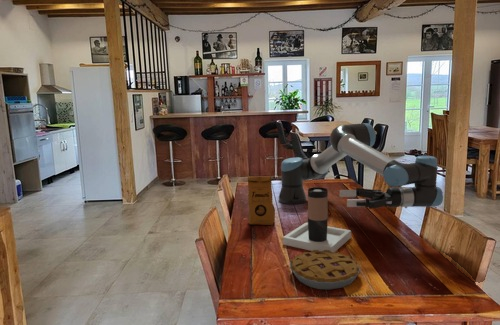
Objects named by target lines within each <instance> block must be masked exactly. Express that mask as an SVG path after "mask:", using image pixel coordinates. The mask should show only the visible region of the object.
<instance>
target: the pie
mask: <svg viewBox="0 0 500 325" xmlns="http://www.w3.org/2000/svg"><path fill="white" fill-rule="evenodd" d="M289 268H290V271H292V273H293V274H294V276H295V277H296V279H297V280H298V281H299V282H300V283H301V284H303V285H306V286H308V287H310V288H313V289H315V290H316V289H317V290H334V289H340V288H344V287H346V286H349V285H350V284H351V285H352V283H353V282H354V281H355V280H356V278H357V277H358V275H359V273H361V269H360V266H359V264H358V262H357V260H355V259H352V258H351V256H350V255H345V254H342V253H341V252H339V251H335V252H330V251H329V250H324V251H318V250H313V251H310V252H307V251H304V252H302V253H301V254H295V255H294V257H293V258H292V259H290V261H289Z"/></svg>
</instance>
